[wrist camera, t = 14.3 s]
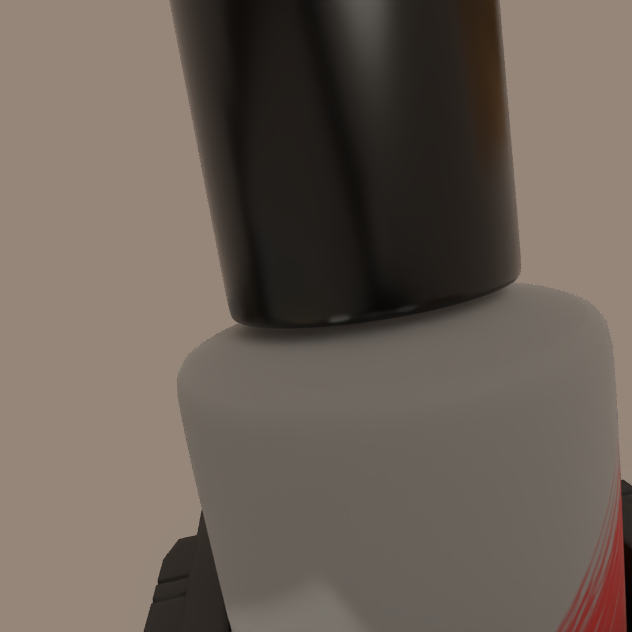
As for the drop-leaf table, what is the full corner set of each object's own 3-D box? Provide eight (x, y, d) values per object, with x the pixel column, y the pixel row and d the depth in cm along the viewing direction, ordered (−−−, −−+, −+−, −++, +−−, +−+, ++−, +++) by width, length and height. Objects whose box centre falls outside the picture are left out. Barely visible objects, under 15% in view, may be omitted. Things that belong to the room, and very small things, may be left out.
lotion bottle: (439, 1499, 7) (-27, -430, 2) (305, 935, 12) (88, 33, 8) (729, 1178, 8) (757, -272, 4) (498, 811, 14) (406, 18, 9)
